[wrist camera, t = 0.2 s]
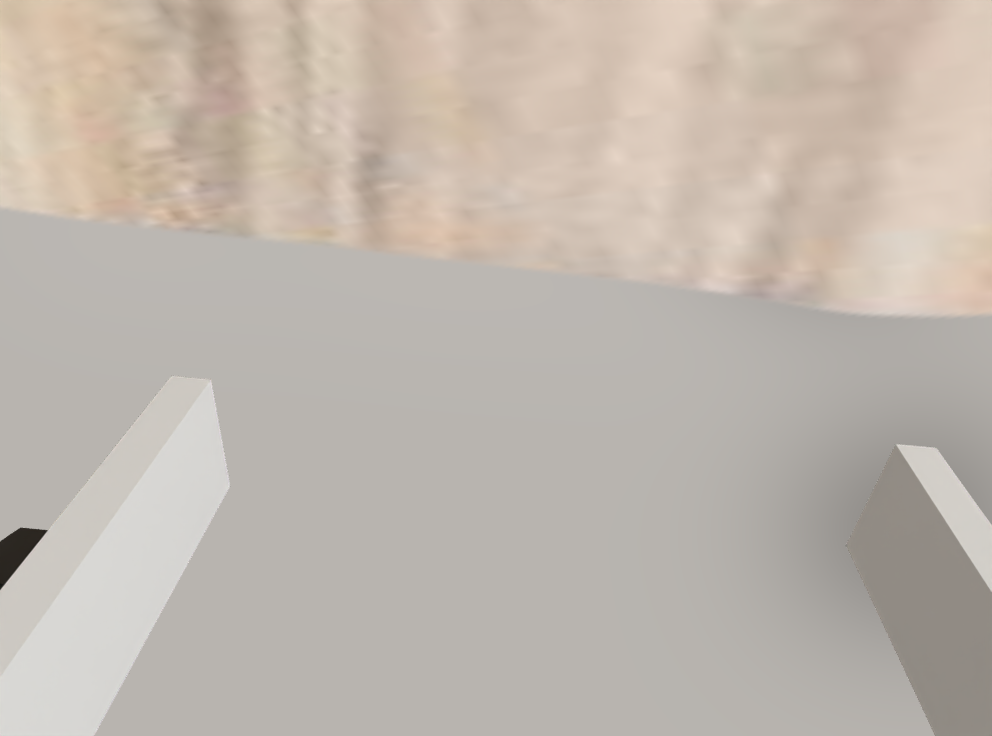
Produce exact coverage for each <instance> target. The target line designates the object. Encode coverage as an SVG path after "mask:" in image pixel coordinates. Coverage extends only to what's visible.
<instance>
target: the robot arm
mask: <svg viewBox="0 0 992 736" xmlns="http://www.w3.org/2000/svg"><path fill="white" fill-rule="evenodd" d="M229 487H230V483H229V477H228V471H227V466H226V460H225V455H224V450H223V443H222V438H221V433H220V427H219V421H218V416H217V410H216V404H215V399H214V393H213V388H212V382H211V379H201V378H191V377H180V376H171V377H170V378H169V379H168V381H167V382H166V383H165V385H164V386H163V387H162V388H161V389H160V391H159V392H158V393H157V395H156V396H155V397H154V398H153V400H152V401H151V402H150V403H149V405H148V406H147V407H146V408H145V410H144V411H143V412H142V413H141V415H140V416H139V417H138V418H137V420H136V421H135V422H134V423H133V425H132V426H131V427H130V428H129V430H128V431H127V432H126V433H125V435H124V436H123V437H122V438H121V440H120V441H119V442H118V443H117V445H116V446H115V447H114V449H113V450H112V451H111V452H110V453H109V455H108V456H107V457H106V458H105V460H104V461H103V462H102V463H101V465H100V466H99V467H98V468H97V470H96V471H95V472H94V473H93V475H92V476H91V477H90V478H89V480H88V481H87V482H86V484H85V485H84V486H83V487H82V489H81V490H80V491H79V492H78V494H77V495H76V496H75V497H74V499H73V500H72V501H71V502H70V504H69V505H68V506H67V507H66V509H65V510H64V511H63V512H62V514H61V515H60V516H59V517H58V519H57V520H56V521H55V522H54V524H53V525H52V526H51V527H50V529H49V530H39V529H29V528H20V529H18V530H16V531H15V532H13V533H12V534H10V535H9V536H7V537H6V538H5V539H3V540H2V541H1V542H0V736H94V735H95V733H96V731H97V729H98V727H99V725H100V724H101V722H102V720H103V718H104V716H105V715H106V713H107V711H108V709H109V707H110V705H111V703H112V702H113V700H114V698H115V696H116V694H117V693H118V691H119V689H120V687H121V685H122V683H123V682H124V680H125V678H126V676H127V674H128V672H129V670H130V669H131V667H132V665H133V663H134V661H135V659H136V658H137V656H138V654H139V652H140V650H141V648H142V647H143V645H144V643H145V641H146V639H147V637H148V636H149V634H150V632H151V630H152V628H153V626H154V625H155V623H156V621H157V619H158V617H159V615H160V614H161V612H162V610H163V608H164V606H165V604H166V603H167V601H168V599H169V597H170V595H171V593H172V592H173V590H174V588H175V586H176V584H177V582H178V581H179V579H180V577H181V575H182V573H183V571H184V570H185V568H186V566H187V564H188V562H189V560H190V559H191V557H192V555H193V553H194V551H195V549H196V547H197V546H198V544H199V542H200V540H201V538H202V537H203V535H204V533H205V531H206V529H207V527H208V526H209V524H210V522H211V520H212V518H213V516H214V514H215V513H216V511H217V509H218V507H219V505H220V504H221V502H222V500H223V498H224V496H225V494H226V493H227V491H228V489H229ZM846 546H847V548H848V551H849V553H850V555H851V557H852V559H853V561H854V563H855V565H856V568H857V570H858V572H859V574H860V576H861V578H862V580H863V583H864V585H865V587H866V589H867V591H868V593H869V595H870V598H871V600H872V602H873V604H874V606H875V608H876V610H877V612H878V615H879V617H880V619H881V621H882V623H883V625H884V628H885V630H886V632H887V633H888V636H889V638H890V640H891V642H892V645H893V647H894V649H895V651H896V653H897V655H898V657H899V660H900V662H901V664H902V666H903V668H904V670H905V672H906V675H907V677H908V679H909V681H910V683H911V685H912V687H913V689H914V692H915V694H916V696H917V698H918V700H919V702H920V704H921V706H922V709H923V711H924V713H925V715H926V717H927V719H928V722H929V724H930V726H931V728H932V730H933V732H934V734H935V736H992V525H991V524H990V522H989V521H988V520H987V518H986V517H985V515H984V514H983V513H982V511H981V510H980V508H979V507H978V506H977V504H976V503H975V502H974V500H973V499H972V497H971V496H970V494H969V493H968V492H967V490H966V489H965V488H964V486H963V485H962V483H961V482H960V481H959V479H958V478H957V477H956V475H955V474H954V472H953V471H952V469H951V468H950V467H949V465H948V464H947V463H946V461H945V460H944V458H943V457H942V455H941V454H940V453H939V451H938V450H937V449H936V448H930V447H921V446H910V445H899V444H896V445H895V447H894V449H893V451H892V453H891V455H890V457H889V459H888V461H887V463H886V465H885V467H884V469H883V471H882V473H881V475H880V477H879V479H878V481H877V483H876V485H875V487H874V489H873V491H872V493H871V496H870V497H869V499H868V502H867V503H866V506H865V508H864V510H863V512H862V514H861V516H860V518H859V520H858V522H857V524H856V526H855V528H854V530H853V532H852V534H851V536H850V538H849V540H848V542H847V544H846Z"/></svg>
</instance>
